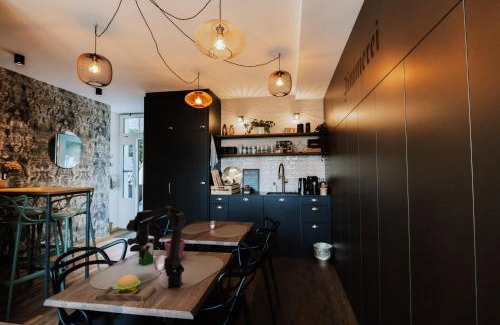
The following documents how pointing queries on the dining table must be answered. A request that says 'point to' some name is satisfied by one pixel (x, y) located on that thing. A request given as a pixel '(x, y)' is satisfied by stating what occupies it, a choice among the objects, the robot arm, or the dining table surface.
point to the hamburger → (127, 284)
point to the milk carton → (147, 255)
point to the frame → (123, 295)
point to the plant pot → (182, 244)
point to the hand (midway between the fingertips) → (142, 259)
